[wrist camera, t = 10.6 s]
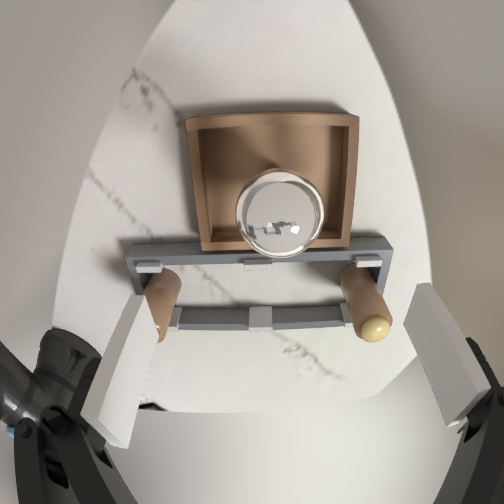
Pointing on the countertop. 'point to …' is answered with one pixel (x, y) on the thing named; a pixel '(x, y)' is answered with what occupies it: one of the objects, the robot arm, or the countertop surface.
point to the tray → (271, 156)
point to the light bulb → (279, 213)
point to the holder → (258, 317)
